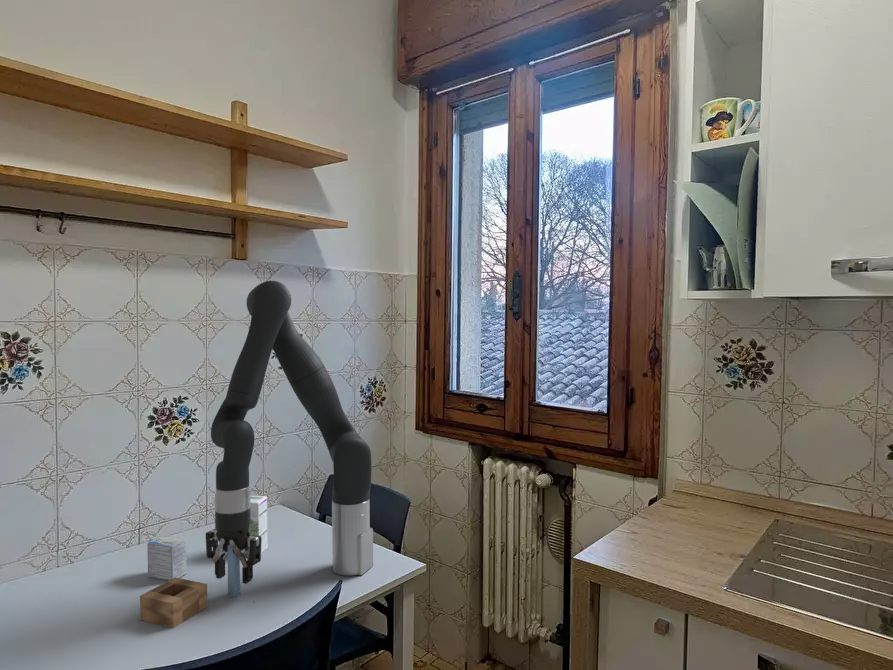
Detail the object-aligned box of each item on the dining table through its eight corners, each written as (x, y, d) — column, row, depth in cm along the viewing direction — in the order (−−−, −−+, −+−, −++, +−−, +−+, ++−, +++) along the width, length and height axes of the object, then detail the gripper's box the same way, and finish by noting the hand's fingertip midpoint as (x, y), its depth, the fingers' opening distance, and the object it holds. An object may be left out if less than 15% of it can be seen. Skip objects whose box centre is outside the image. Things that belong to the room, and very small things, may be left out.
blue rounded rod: (242, 592, 127) (242, 538, 127) (234, 597, 124) (234, 543, 124) (233, 590, 128) (232, 537, 128) (225, 596, 125) (224, 541, 125)
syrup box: (268, 547, 153) (267, 494, 152) (259, 556, 147) (258, 501, 147) (248, 547, 153) (247, 494, 153) (238, 555, 147) (237, 501, 147)
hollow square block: (207, 606, 121) (206, 583, 120) (173, 627, 112) (173, 603, 112) (175, 599, 124) (175, 577, 124) (140, 619, 115) (139, 595, 115)
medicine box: (187, 574, 137) (186, 539, 136) (172, 582, 132) (172, 546, 132) (162, 570, 139) (161, 535, 139) (147, 577, 135) (146, 542, 135)
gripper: (270, 505, 127) (270, 577, 127) (219, 498, 132) (220, 568, 132) (247, 515, 120) (248, 592, 120) (195, 508, 125) (196, 581, 125)
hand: (233, 579), depth 126 cm, fingers open, 7 cm apart
